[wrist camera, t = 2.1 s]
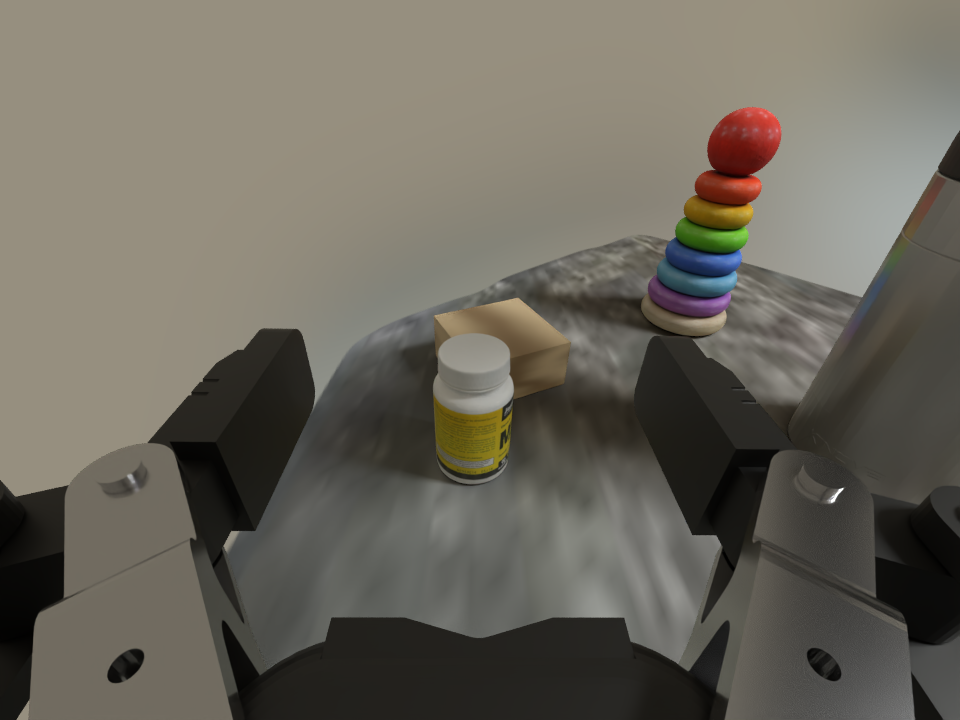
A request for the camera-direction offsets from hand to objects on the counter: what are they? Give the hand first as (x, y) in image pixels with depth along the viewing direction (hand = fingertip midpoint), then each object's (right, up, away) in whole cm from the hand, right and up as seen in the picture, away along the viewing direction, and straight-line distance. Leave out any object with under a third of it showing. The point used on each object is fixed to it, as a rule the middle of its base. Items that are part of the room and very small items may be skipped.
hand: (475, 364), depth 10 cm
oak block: (+2, -1, +26) cm, 26 cm away
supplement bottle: (0, -6, +18) cm, 19 cm away
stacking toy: (+21, +4, +34) cm, 40 cm away
